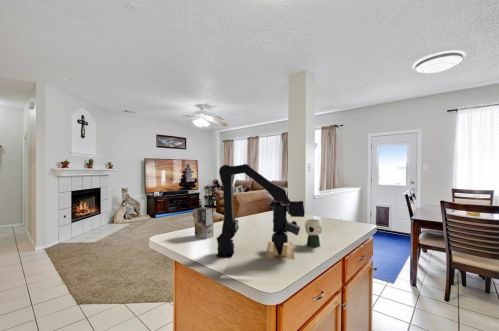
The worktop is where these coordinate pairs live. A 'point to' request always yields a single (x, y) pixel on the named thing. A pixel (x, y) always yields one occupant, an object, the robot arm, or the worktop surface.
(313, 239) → the character mug
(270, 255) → the board
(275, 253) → the block
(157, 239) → the worktop surface
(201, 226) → the coffee box
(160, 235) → the worktop surface
